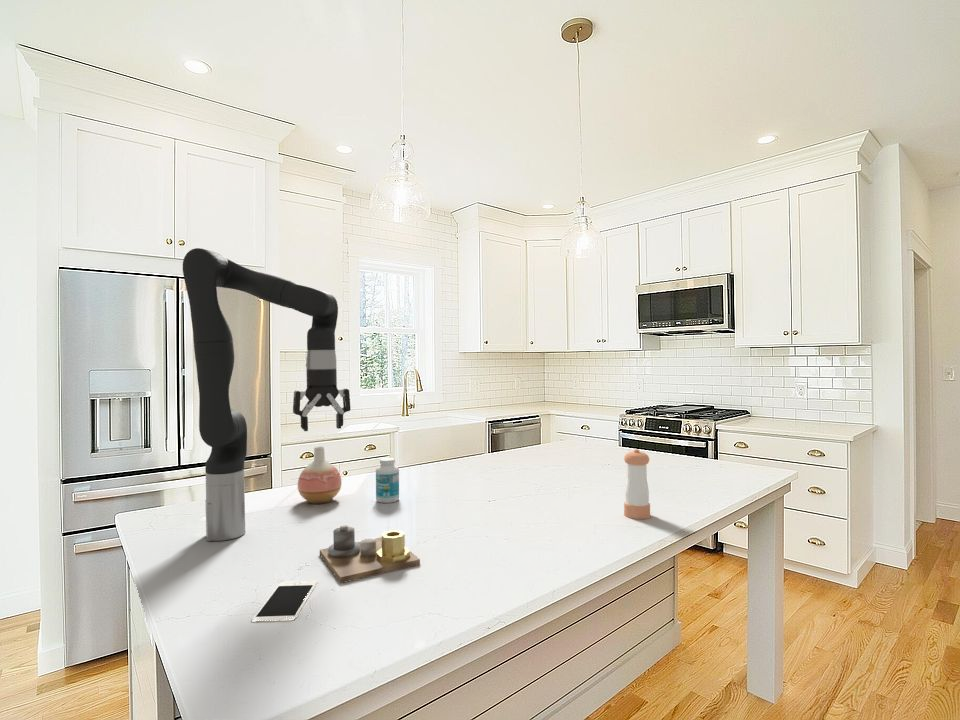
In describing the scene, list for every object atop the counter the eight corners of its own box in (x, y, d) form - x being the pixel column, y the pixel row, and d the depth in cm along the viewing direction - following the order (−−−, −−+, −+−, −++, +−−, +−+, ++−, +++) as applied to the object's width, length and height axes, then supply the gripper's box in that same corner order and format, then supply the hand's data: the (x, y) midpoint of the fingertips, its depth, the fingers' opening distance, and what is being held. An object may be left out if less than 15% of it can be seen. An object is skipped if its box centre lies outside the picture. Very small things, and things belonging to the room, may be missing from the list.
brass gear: (384, 565, 115) (383, 541, 115) (373, 554, 121) (373, 532, 121) (413, 558, 118) (413, 535, 118) (401, 548, 124) (401, 527, 124)
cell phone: (318, 583, 110) (318, 580, 110) (294, 622, 94) (294, 619, 94) (280, 584, 109) (280, 581, 109) (250, 624, 93) (250, 621, 93)
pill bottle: (371, 502, 168) (370, 460, 168) (385, 496, 175) (385, 456, 175) (389, 504, 165) (389, 462, 165) (403, 498, 171) (403, 457, 171)
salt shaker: (651, 519, 147) (651, 452, 147) (625, 518, 149) (624, 451, 148) (648, 512, 154) (648, 447, 154) (623, 510, 156) (622, 446, 156)
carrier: (340, 583, 109) (340, 548, 109) (319, 554, 124) (319, 524, 124) (420, 564, 118) (419, 532, 118) (391, 540, 134) (391, 512, 133)
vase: (314, 510, 160) (313, 452, 160) (289, 502, 168) (288, 448, 168) (350, 499, 171) (349, 446, 171) (324, 493, 179) (324, 442, 179)
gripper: (296, 368, 129) (297, 433, 130) (352, 367, 137) (353, 429, 137) (290, 367, 136) (291, 430, 136) (344, 366, 143) (345, 425, 143)
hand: (322, 429), depth 136 cm, fingers open, 8 cm apart
